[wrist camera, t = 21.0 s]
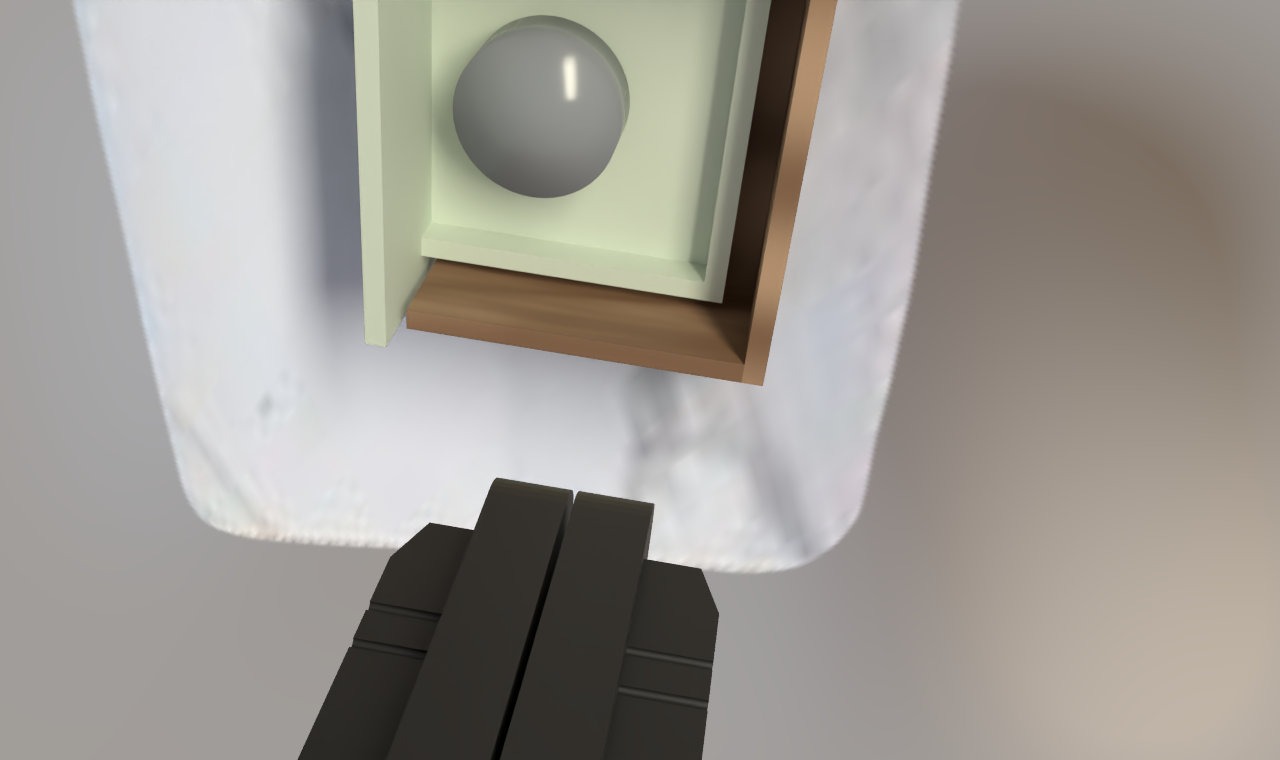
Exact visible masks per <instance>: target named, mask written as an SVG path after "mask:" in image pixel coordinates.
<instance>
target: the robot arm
mask: <svg viewBox="0 0 1280 760" xmlns="http://www.w3.org/2000/svg"><path fill="white" fill-rule="evenodd" d="M653 514H654V504H653V503H647V502H641V501H635V500H629V499H623V498H617V497H611V496H605V495H599V494H593V493H588V492H582V491H579V492H578V493H577V495H576V498H575V501H574V504H573V491H572V490H568V489H562V488H556V487H550V486H544V485H538V484H532V483H526V482H520V481H514V480H508V479H503V478H496V479H495V480H494V481H493V483H492V485H491V487H490V490H489V492H488V495H487V497H486V500H485V503H484V505H483V508H482V510H481V513H480V516H479V518H478V521H477V523H476V526H475V529H474V530H470V529H464V528H458V527H452V526H446V525H441V524H435V523H429V524H428V525H426V526H425V527H424V528H423V529H422V530H421V531H420V532H418V533H417V534H416V535H415V536H414V537H413V538H412V539H410V540H409V541H408V542H407V543H406V544H405V545H404V546H402V547H401V548H400V549H399V550H398V551H397V552H396V553H394V554H393V555H392V556H391V557H390V559H389V561H388V563H387V565H386V567H385V570H384V572H383V574H382V576H381V578H380V581H379V583H378V585H377V587H376V589H375V592H374V594H373V596H372V598H371V600H370V606H369V610H366V611H365V613H364V616H363V618H362V620H361V622H360V624H359V627H358V629H357V631H356V633H355V635H354V638H353V644H352V647H349V648H348V651H347V653H346V655H345V657H344V659H343V662H342V664H341V666H340V669H339V670H338V672H337V675H336V677H335V679H334V681H333V684H332V686H331V688H330V690H329V693H328V694H327V697H326V699H325V701H324V703H323V705H322V708H321V710H320V712H319V714H318V716H317V718H316V721H315V723H314V725H313V727H312V729H311V732H310V734H309V736H308V738H307V740H306V743H305V745H304V747H303V749H302V751H301V754H300V756H299V758H298V760H702V752H703V744H704V736H705V727H706V718H707V708H708V702H709V694H710V685H711V677H712V666H713V660H714V652H715V642H716V635H717V626H718V618H719V612H718V610H717V608H716V605H715V603H714V600H713V598H712V595H711V592H710V590H709V587H708V585H707V583H706V580H705V577H704V575H703V572H702V570H701V569H699V568H693V567H688V566H682V565H676V564H670V563H664V562H658V561H653V560H647V557H648V550H649V543H650V536H651V529H652V522H653Z"/></svg>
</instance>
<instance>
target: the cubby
mask: <svg viewBox="0 0 1280 760" xmlns="http://www.w3.org/2000/svg"><path fill="white" fill-rule="evenodd" d="M836 5H837V0H771V5H770V11H769V17H768V24H767V30H766V36H765V42H764V48H763V54H762V61H761V67H760V73H759V79H758V85H757V91H756V98H755V104H754V110H753V116H752V122H751V128H750V134H749V141H748V147H747V153H746V159H745V165H744V171H743V178H742V184H741V190H740V196H739V202H738V208H737V215H736V221H735V227H734V233H733V239H732V245H731V252H730V258H729V264H728V270H727V276H726V282H725V288H724V294H723V301H722V303H717V302H710V301H704V300H698V299H691V298H685V297H679V296H673V295H666V294H660V293H654V292H647V291H641V290H635V289H628V288H622V287H616V286H609V285H603V284H597V283H591V282H584V281H578V280H572V279H565V278H559V277H553V276H546V275H540V274H534V273H527V272H521V271H515V270H509V269H502V268H496V267H490V266H483V265H477V264H471V263H464V262H458V261H452V260H446V259H439V258H437V259H436V261H435V263H434V264H433V266H432V268H431V269H430V271H429V273H428V274H427V276H426V278H425V280H424V281H423V283H422V285H421V286H420V288H419V290H418V292H417V293H416V295H415V297H414V298H413V300H412V302H411V303H410V305H409V307H408V309H407V310H406V314H407V328H408V329H414V330H420V331H426V332H433V333H439V334H445V335H451V336H457V337H463V338H470V339H476V340H482V341H488V342H494V343H500V344H506V345H513V346H519V347H525V348H531V349H537V350H543V351H550V352H556V353H562V354H568V355H574V356H580V357H587V358H593V359H599V360H605V361H611V362H617V363H624V364H630V365H636V366H642V367H648V368H654V369H661V370H667V371H673V372H679V373H685V374H691V375H698V376H704V377H710V378H716V379H722V380H728V381H735V382H741V383H747V384H753V385H759V386H763V382H764V377H765V372H766V367H767V361H768V356H769V351H770V346H771V341H772V336H773V330H774V325H775V320H776V315H777V310H778V305H779V299H780V294H781V289H782V284H783V279H784V274H785V268H786V263H787V258H788V253H789V248H790V243H791V237H792V232H793V227H794V222H795V217H796V212H797V206H798V201H799V196H800V191H801V186H802V181H803V175H804V170H805V165H806V160H807V155H808V150H809V144H810V139H811V134H812V129H813V124H814V119H815V113H816V108H817V103H818V98H819V93H820V88H821V82H822V77H823V72H824V67H825V62H826V57H827V51H828V46H829V41H830V36H831V31H832V26H833V20H834V15H835V10H836Z"/></svg>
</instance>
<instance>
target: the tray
mask: <svg viewBox="0 0 1280 760" xmlns="http://www.w3.org/2000/svg"><path fill="white" fill-rule="evenodd" d="M770 5H771V0H353V20H354V48H355V76H356V104H357V132H358V160H359V188H360V215H361V243H362V271H363V299H364V327H365V344H370V345H376V346H382V347H386V346H387V345H388V343H389V341H390V340H391V338H392V336H393V334H394V333H395V331H396V329H397V328H398V326H399V324H400V322H401V321H402V319H403V317H404V316H405V314H406V310H407V309H408V307H409V305H410V303H411V302H412V300H413V298H414V297H415V295H416V293H417V292H418V290H419V288H420V286H421V285H422V283H423V281H424V280H425V278H426V276H427V274H428V273H429V271H430V269H431V268H432V266H433V264H434V263H435V261H436V259H437V258H439V259H446V260H452V261H458V262H464V263H471V264H477V265H483V266H490V267H496V268H502V269H509V270H515V271H521V272H527V273H534V274H540V275H546V276H553V277H559V278H565V279H572V280H578V281H584V282H591V283H597V284H603V285H609V286H616V287H622V288H628V289H635V290H641V291H647V292H654V293H660V294H666V295H673V296H679V297H685V298H691V299H698V300H704V301H710V302H717V303H722V301H723V294H724V288H725V282H726V276H727V270H728V264H729V258H730V252H731V245H732V239H733V233H734V227H735V221H736V215H737V208H738V202H739V196H740V190H741V184H742V178H743V171H744V165H745V159H746V153H747V147H748V141H749V134H750V128H751V122H752V116H753V110H754V104H755V98H756V91H757V85H758V79H759V73H760V67H761V61H762V54H763V48H764V42H765V36H766V30H767V24H768V17H769V11H770ZM536 15H549V16H557V17H562V18H565V19H568V20H571V21H574V22H576V23H578V24H581V25H583V26H585V27H586V28H588V29H589V30H591V31H592V32H594V33H595V34H596V35H597V36H599V37H600V38H601V39H602V40H603V41H604V42H605V43H606V44H607V45H608V46H609V47H610V48H611V50H612V51H613V53H614V54H615V55H616V57H617V58H618V60H619V62H620V64H621V66H622V68H623V70H624V73H625V75H626V79H627V83H628V86H629V94H630V109H629V115H628V120H627V123H626V126H625V129H624V131H623V133H622V135H621V138H620V140H619V142H618V144H617V147H616V149H615V151H614V153H613V155H612V158H611V160H610V162H609V163H608V165H607V167H606V168H605V170H604V171H603V172H602V173H601V174H600V175H599V177H598V178H596V179H595V180H594V181H593V182H592V183H591V184H589V185H588V186H586V187H584V188H583V189H581V190H579V191H577V192H574V193H572V194H569V195H565V196H561V197H555V198H535V197H529V196H524V195H520V194H517V193H514V192H512V191H509V190H507V189H505V188H503V187H501V186H500V185H498V184H496V183H495V182H493V181H492V180H490V179H489V178H488V177H487V176H485V175H484V174H483V173H482V172H481V171H480V170H479V169H478V168H477V167H476V166H475V165H474V163H473V162H472V161H471V160H470V159H469V157H468V155H467V154H466V152H465V151H464V149H463V147H462V145H461V143H460V141H459V138H458V135H457V132H456V129H455V124H454V120H453V97H454V92H455V88H456V85H457V82H458V79H459V77H460V75H461V74H462V72H463V70H464V68H465V67H466V66H467V64H468V63H469V62H470V60H471V59H472V58H473V57H474V56H475V54H476V53H477V52H478V51H479V49H480V48H481V47H482V46H483V44H484V43H485V42H486V41H487V40H488V39H489V38H490V37H491V36H492V35H493V34H494V33H495V32H496V31H497V30H498V29H500V28H501V27H502V26H504V25H506V24H508V23H510V22H512V21H514V20H517V19H520V18H524V17H528V16H536Z"/></svg>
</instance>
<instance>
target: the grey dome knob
mask: <svg viewBox="0 0 1280 760" xmlns="http://www.w3.org/2000/svg"><path fill="white" fill-rule="evenodd" d="M629 109H630V94H629V86H628V83H627V79H626V75H625V73H624V70H623V68H622V66H621V64H620V62H619V60H618V58H617V57H616V55H615V54H614V53H613V51H612V50H611V48H610V47H609V46H608V45H607V44H606V43H605V42H604V41H603V40H602V39H601V38H600V37H599V36H597V35H596V34H595V33H594V32H592V31H591V30H589V29H588V28H586V27H585V26H583V25H581V24H578V23H576V22H574V21H571V20H568V19H565V18H562V17H557V16H549V15H536V16H528V17H524V18H520V19H517V20H514V21H512V22H510V23H508V24H506V25H504V26H502V27H501V28H500V29H498V30H497V31H496V32H495V33H494V34H493V35H492V36H491V37H490V38H489V39H488V40H487V41H486V42H485V43H484V44H483V46H482V47H481V48H480V49H479V51H478V52H477V53H476V54H475V56H474V57H473V58H472V59H471V60H470V62H469V63H468V64H467V66H466V67H465V68H464V70H463V72H462V74H461V75H460V77H459V79H458V82H457V85H456V88H455V92H454V97H453V120H454V124H455V129H456V132H457V135H458V138H459V141H460V143H461V145H462V147H463V149H464V151H465V152H466V154H467V155H468V157H469V159H470V160H471V161H472V162H473V163H474V165H475V166H476V167H477V168H478V169H479V170H480V171H481V172H482V173H483V174H484V175H485V176H487V177H488V178H489V179H490V180H492V181H493V182H495V183H496V184H498V185H500V186H501V187H503V188H505V189H507V190H509V191H512V192H514V193H517V194H520V195H524V196H529V197H535V198H555V197H561V196H565V195H569V194H572V193H574V192H577V191H579V190H581V189H583V188H584V187H586V186H588V185H589V184H591V183H592V182H593V181H594V180H595V179H596V178H598V177H599V175H600V174H601V173H602V172H603V171H604V170H605V168H606V167H607V165H608V163H609V162H610V160H611V158H612V155H613V153H614V151H615V149H616V147H617V144H618V142H619V140H620V138H621V135H622V133H623V131H624V129H625V126H626V123H627V120H628V115H629Z"/></svg>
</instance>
